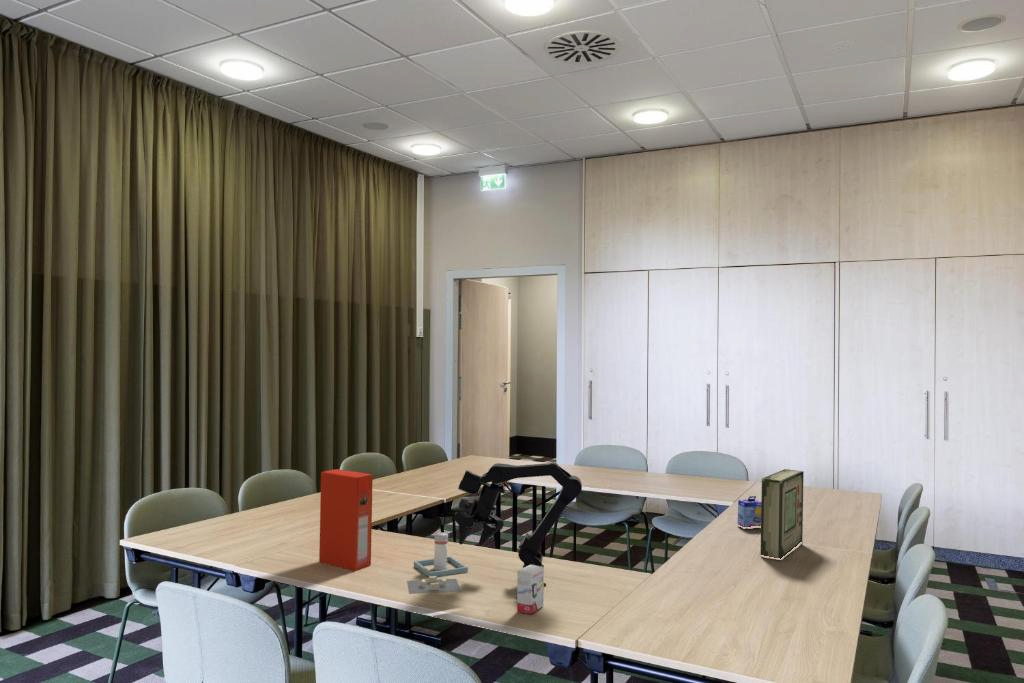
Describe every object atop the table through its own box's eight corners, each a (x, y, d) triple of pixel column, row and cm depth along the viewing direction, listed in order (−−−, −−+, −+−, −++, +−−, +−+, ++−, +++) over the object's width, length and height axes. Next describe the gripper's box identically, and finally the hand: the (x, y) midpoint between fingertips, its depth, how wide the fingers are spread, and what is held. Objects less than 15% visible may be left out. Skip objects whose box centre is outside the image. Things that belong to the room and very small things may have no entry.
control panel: (780, 561, 259) (782, 481, 260) (760, 557, 264) (761, 478, 264) (802, 544, 283) (803, 471, 283) (783, 541, 288) (784, 469, 288)
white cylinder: (447, 567, 240) (448, 532, 240) (446, 571, 235) (447, 536, 235) (434, 567, 240) (435, 532, 240) (433, 571, 235) (433, 535, 235)
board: (456, 581, 227) (456, 573, 228) (460, 594, 216) (461, 585, 216) (407, 583, 224) (407, 575, 224) (409, 596, 212) (409, 587, 213)
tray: (450, 563, 247) (450, 556, 247) (467, 574, 235) (467, 567, 235) (413, 568, 240) (413, 561, 240) (429, 580, 228) (429, 573, 228)
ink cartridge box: (744, 530, 305) (744, 497, 305) (736, 527, 310) (737, 494, 310) (763, 528, 307) (763, 496, 308) (755, 525, 313) (755, 493, 313)
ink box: (530, 615, 200) (531, 574, 200) (515, 611, 203) (516, 571, 203) (544, 606, 208) (545, 566, 208) (529, 602, 210) (530, 563, 210)
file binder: (354, 571, 235) (356, 477, 236) (318, 562, 244) (321, 471, 245) (370, 565, 242) (373, 474, 243) (335, 557, 251) (337, 468, 252)
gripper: (490, 493, 241) (474, 534, 241) (451, 488, 228) (435, 532, 228) (511, 506, 233) (495, 549, 233) (472, 502, 220) (455, 548, 220)
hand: (470, 544), depth 229 cm, fingers open, 9 cm apart
